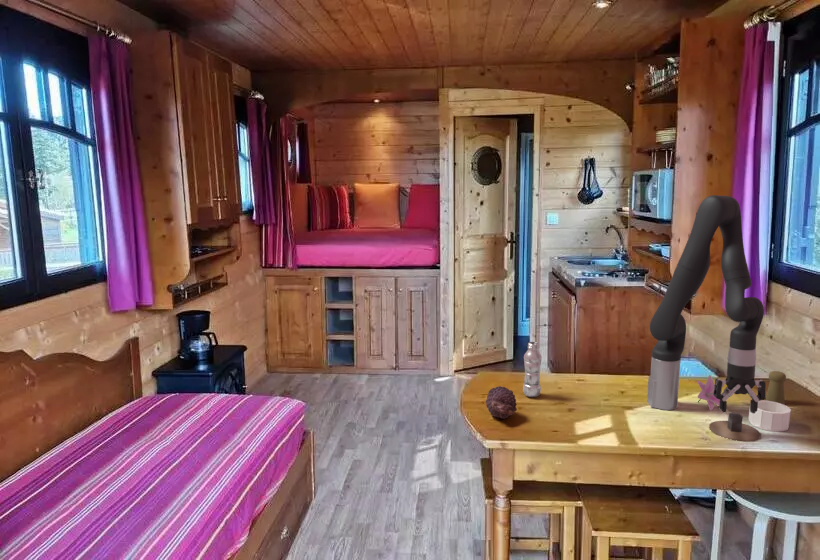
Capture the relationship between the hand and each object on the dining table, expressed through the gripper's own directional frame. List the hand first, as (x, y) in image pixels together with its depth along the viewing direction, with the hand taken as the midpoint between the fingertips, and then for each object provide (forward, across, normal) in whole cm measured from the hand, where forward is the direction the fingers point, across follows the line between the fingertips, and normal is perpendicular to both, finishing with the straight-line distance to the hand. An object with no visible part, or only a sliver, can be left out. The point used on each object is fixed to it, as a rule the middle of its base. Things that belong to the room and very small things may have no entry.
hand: (738, 412), depth 185 cm
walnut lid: (+7, -1, 0) cm, 7 cm away
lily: (+6, -1, +21) cm, 22 cm away
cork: (+7, +24, +28) cm, 37 cm away
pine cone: (+5, -73, +5) cm, 73 cm away
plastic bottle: (+5, -61, +25) cm, 66 cm away
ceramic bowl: (+7, +12, +7) cm, 16 cm away
